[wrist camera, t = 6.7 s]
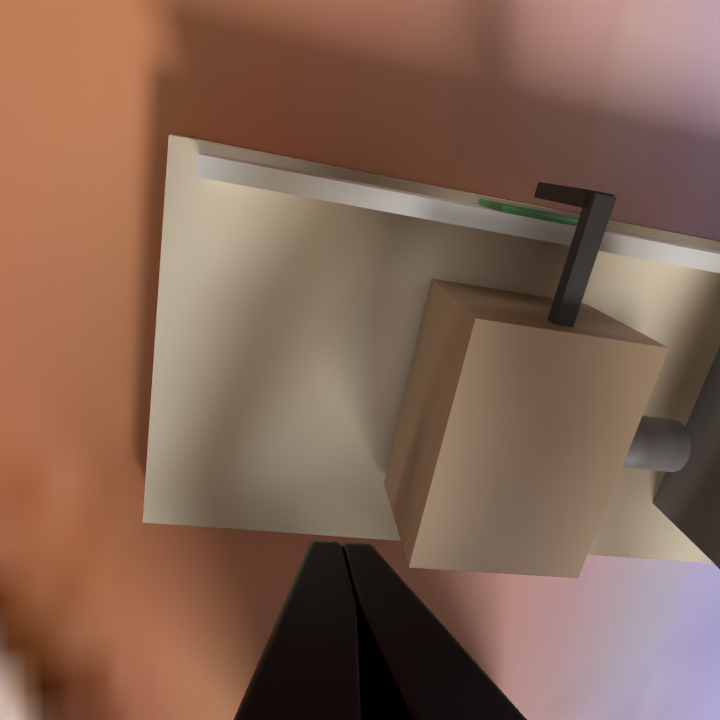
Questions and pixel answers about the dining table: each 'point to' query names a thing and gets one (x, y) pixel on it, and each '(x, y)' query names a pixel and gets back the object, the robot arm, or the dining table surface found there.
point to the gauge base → (384, 342)
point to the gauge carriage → (524, 419)
